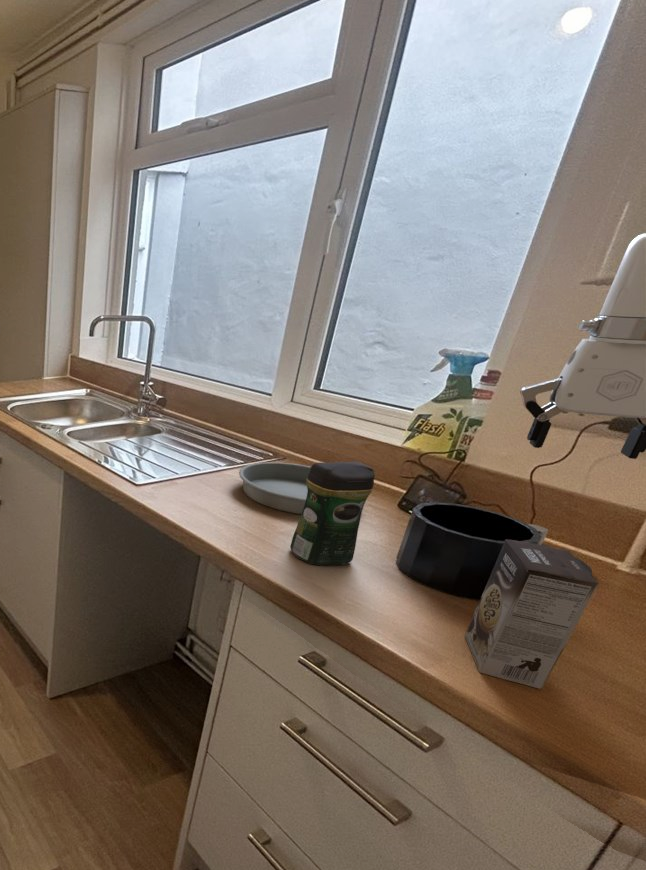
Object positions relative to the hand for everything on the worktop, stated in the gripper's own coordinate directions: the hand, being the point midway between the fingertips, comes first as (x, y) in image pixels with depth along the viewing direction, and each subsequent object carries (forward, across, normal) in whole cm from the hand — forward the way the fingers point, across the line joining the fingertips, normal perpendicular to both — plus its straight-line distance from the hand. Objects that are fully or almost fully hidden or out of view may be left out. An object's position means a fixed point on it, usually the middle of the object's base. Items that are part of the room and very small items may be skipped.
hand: (580, 450), depth 78 cm
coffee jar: (+25, -28, -4) cm, 37 cm away
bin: (+24, -8, +1) cm, 26 cm away
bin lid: (+24, +3, +14) cm, 28 cm away
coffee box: (+25, -6, -24) cm, 35 cm away
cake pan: (+25, -34, +26) cm, 49 cm away
